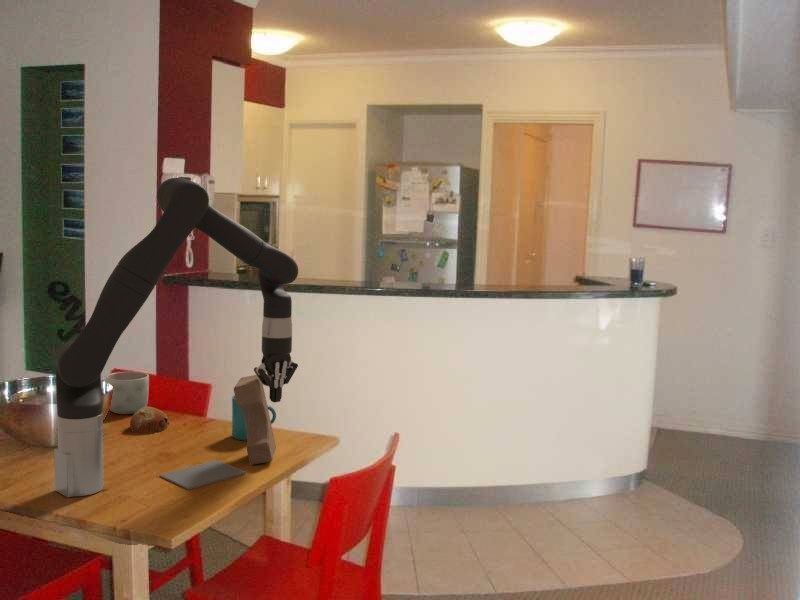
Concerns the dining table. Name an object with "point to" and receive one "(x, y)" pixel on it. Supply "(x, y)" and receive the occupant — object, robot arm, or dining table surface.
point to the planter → (128, 391)
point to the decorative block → (255, 419)
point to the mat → (202, 474)
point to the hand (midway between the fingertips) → (275, 401)
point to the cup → (242, 421)
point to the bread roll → (149, 420)
